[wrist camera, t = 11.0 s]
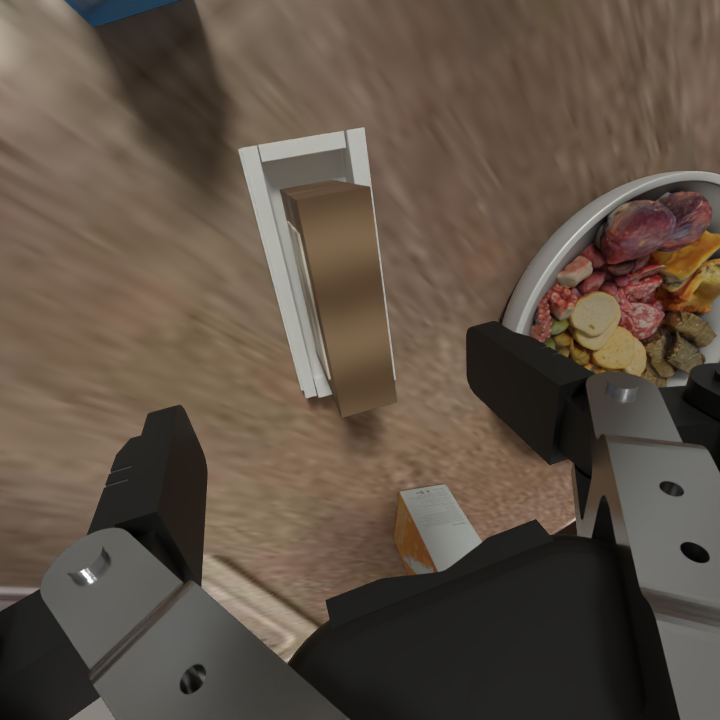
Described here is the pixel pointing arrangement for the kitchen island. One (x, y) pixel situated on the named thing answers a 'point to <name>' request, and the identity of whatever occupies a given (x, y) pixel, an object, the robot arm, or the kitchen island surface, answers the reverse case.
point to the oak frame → (343, 290)
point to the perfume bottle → (113, 9)
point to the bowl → (631, 281)
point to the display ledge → (265, 179)
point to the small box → (432, 530)
